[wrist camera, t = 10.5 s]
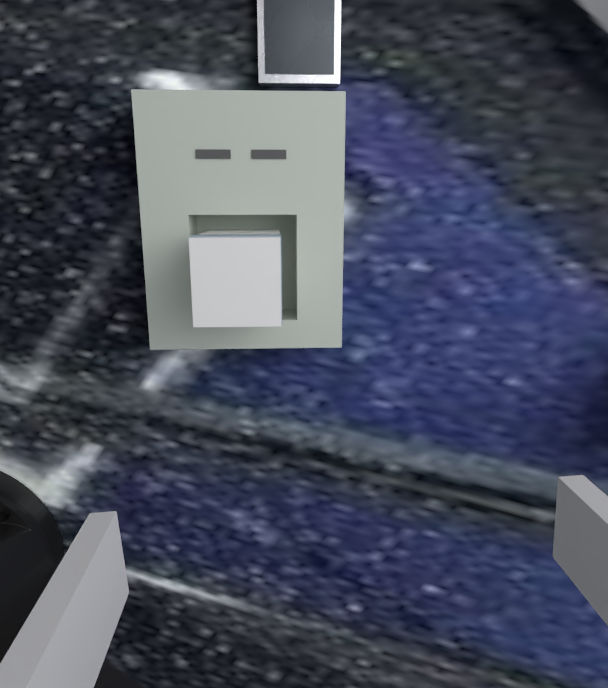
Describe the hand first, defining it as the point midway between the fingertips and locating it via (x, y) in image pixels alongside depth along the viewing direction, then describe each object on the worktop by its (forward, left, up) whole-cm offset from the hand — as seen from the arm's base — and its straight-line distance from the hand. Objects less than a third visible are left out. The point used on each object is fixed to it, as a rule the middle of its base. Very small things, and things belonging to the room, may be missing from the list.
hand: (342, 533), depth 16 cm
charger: (-4, +6, -23) cm, 24 cm away
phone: (0, +21, -23) cm, 31 cm away
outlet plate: (-4, +8, -23) cm, 25 cm away
